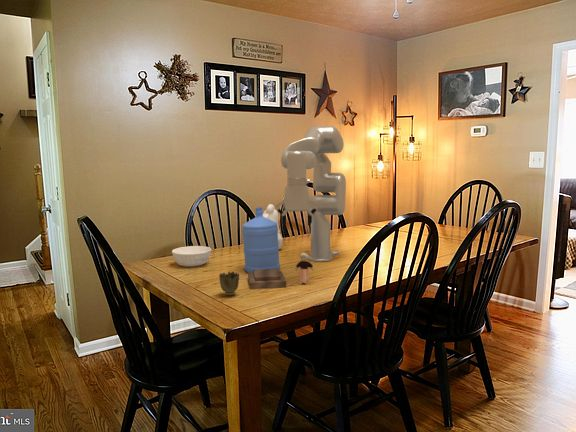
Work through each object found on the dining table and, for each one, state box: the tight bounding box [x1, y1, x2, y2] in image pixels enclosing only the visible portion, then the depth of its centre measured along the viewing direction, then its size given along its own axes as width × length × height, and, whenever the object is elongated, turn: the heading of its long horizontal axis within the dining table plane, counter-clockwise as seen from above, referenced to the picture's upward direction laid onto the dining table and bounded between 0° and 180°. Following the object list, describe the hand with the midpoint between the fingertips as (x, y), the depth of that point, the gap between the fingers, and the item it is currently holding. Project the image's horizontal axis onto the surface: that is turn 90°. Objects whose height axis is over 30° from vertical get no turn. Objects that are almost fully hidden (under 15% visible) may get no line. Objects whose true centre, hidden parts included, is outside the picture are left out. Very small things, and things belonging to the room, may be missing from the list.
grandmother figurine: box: [294, 252, 315, 285], centre depth 182 cm, size 8×4×13 cm, turn 96°
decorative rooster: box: [263, 203, 284, 250], centre depth 241 cm, size 25×16×25 cm, turn 158°
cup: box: [218, 271, 240, 297], centre depth 169 cm, size 8×7×8 cm
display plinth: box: [247, 269, 287, 290], centre depth 185 cm, size 14×16×4 cm
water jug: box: [242, 207, 281, 273], centre depth 202 cm, size 16×16×28 cm
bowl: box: [171, 245, 212, 268], centre depth 216 cm, size 18×18×7 cm
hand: (296, 225), depth 182 cm, fingers open, 9 cm apart
